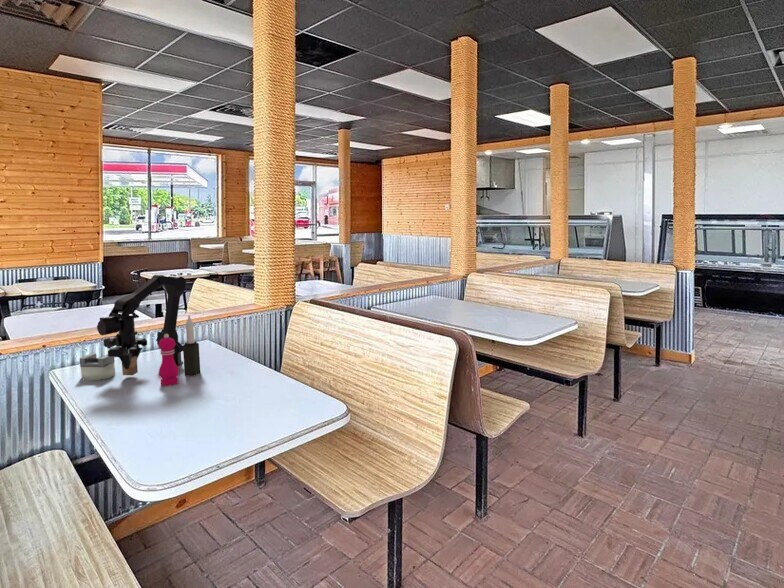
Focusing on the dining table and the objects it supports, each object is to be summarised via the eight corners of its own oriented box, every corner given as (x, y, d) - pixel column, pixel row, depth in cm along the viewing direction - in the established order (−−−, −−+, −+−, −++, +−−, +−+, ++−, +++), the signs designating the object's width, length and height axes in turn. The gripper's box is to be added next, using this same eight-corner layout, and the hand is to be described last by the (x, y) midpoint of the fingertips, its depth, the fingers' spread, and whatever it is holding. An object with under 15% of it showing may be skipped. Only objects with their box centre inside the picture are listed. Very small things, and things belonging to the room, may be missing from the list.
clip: (114, 361, 209) (114, 353, 209) (103, 367, 202) (102, 358, 201) (92, 361, 210) (91, 353, 209) (80, 366, 202) (79, 358, 202)
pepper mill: (174, 386, 195) (171, 336, 192) (156, 386, 195) (152, 335, 192) (182, 380, 202) (179, 331, 199) (164, 380, 202) (161, 331, 199)
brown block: (137, 372, 207) (136, 355, 205) (132, 375, 203) (131, 358, 201) (128, 372, 207) (126, 355, 206) (122, 375, 203) (121, 358, 202)
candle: (194, 376, 207) (191, 316, 203) (183, 375, 208) (179, 316, 204) (201, 372, 212) (198, 314, 208) (190, 371, 213) (187, 313, 209)
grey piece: (121, 371, 212) (120, 360, 211) (104, 381, 200) (103, 369, 200) (93, 371, 213) (92, 359, 212) (74, 380, 201) (73, 368, 200)
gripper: (120, 324, 211) (123, 360, 214) (92, 335, 193) (96, 374, 195) (146, 325, 211) (149, 361, 213) (121, 335, 192) (124, 375, 195)
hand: (129, 367), depth 204 cm, fingers closed on brown block, 4 cm apart
